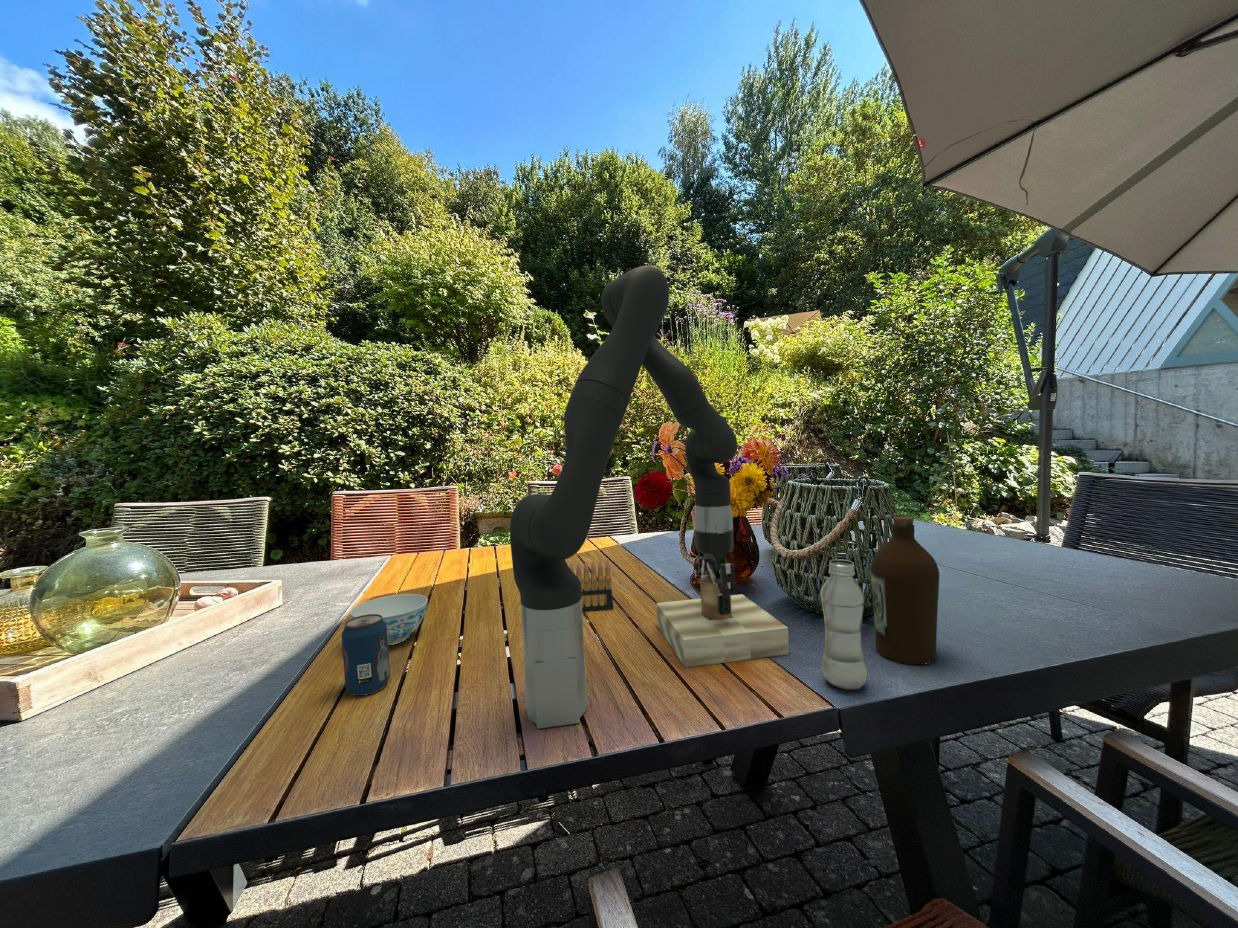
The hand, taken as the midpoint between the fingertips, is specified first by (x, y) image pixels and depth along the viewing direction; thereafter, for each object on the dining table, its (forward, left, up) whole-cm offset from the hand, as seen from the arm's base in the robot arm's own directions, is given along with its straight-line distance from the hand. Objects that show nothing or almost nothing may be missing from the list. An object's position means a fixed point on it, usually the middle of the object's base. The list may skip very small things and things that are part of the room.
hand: (716, 606), depth 96 cm
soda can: (-3, +65, -7) cm, 65 cm away
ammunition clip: (+24, +23, -7) cm, 34 cm away
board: (0, 0, -7) cm, 7 cm away
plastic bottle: (-22, -13, -7) cm, 26 cm away
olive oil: (-15, -30, -7) cm, 34 cm away
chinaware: (+18, +67, -7) cm, 70 cm away
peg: (0, 0, -7) cm, 7 cm away
